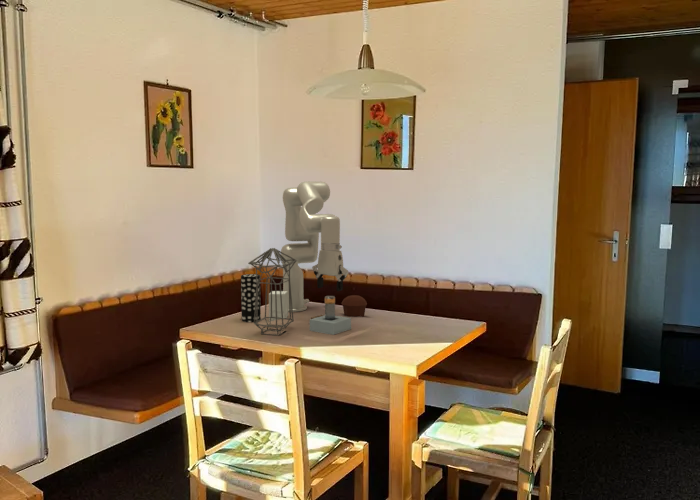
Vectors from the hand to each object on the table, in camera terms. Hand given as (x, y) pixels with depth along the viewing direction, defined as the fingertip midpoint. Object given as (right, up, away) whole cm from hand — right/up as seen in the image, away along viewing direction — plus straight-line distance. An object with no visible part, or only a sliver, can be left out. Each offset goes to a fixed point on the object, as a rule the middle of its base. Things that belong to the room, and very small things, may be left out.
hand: (329, 289), depth 261 cm
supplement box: (-23, -16, +25) cm, 38 cm away
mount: (-3, -17, +14) cm, 22 cm away
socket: (0, -18, +1) cm, 18 cm away
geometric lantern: (-23, -18, +1) cm, 29 cm away
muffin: (+10, -15, +31) cm, 36 cm away
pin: (0, -17, +1) cm, 17 cm away
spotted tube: (-36, -16, +25) cm, 46 cm away
